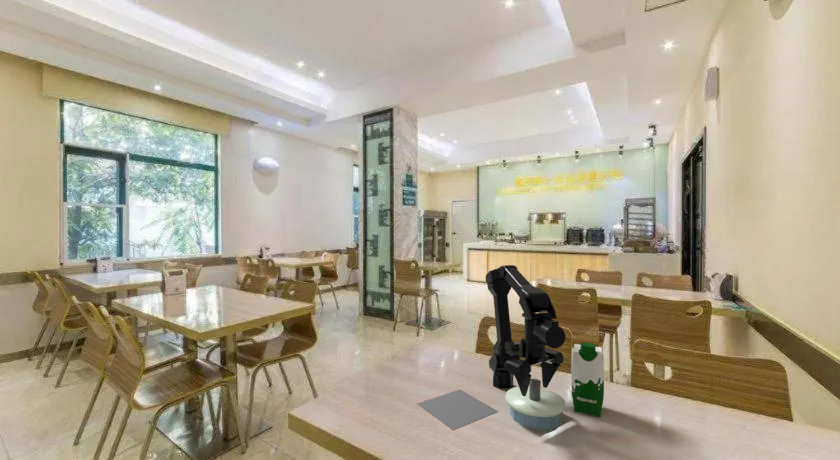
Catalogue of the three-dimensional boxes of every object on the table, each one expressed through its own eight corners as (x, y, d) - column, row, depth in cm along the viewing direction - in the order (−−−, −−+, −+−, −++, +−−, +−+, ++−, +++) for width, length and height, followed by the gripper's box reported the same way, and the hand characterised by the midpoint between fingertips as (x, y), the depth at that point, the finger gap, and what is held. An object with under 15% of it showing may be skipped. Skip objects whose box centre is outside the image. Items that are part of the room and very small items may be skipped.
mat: (459, 392, 119) (460, 389, 119) (498, 414, 105) (498, 411, 105) (416, 406, 110) (416, 403, 110) (452, 433, 96) (452, 430, 96)
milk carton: (570, 412, 106) (571, 344, 106) (572, 399, 115) (572, 336, 114) (604, 419, 103) (605, 349, 102) (603, 405, 111) (603, 339, 111)
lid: (530, 384, 114) (530, 365, 114) (577, 405, 100) (577, 384, 100) (493, 398, 105) (493, 377, 105) (540, 423, 91) (540, 400, 91)
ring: (530, 403, 112) (530, 387, 112) (568, 423, 101) (569, 405, 101) (501, 416, 104) (501, 399, 104) (538, 438, 94) (539, 419, 94)
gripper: (533, 324, 114) (532, 374, 114) (490, 334, 104) (490, 389, 104) (564, 333, 105) (564, 387, 105) (521, 345, 94) (521, 405, 95)
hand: (534, 391), depth 103 cm, fingers open, 9 cm apart
